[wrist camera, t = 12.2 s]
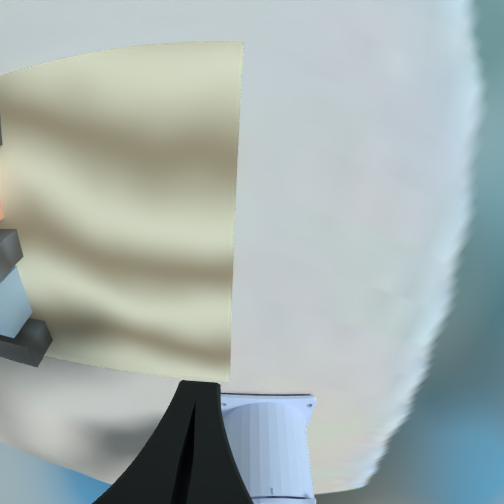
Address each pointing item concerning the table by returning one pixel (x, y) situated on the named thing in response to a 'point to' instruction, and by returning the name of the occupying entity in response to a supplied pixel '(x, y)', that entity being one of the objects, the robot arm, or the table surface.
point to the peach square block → (1, 212)
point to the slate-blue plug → (13, 304)
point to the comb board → (124, 207)
